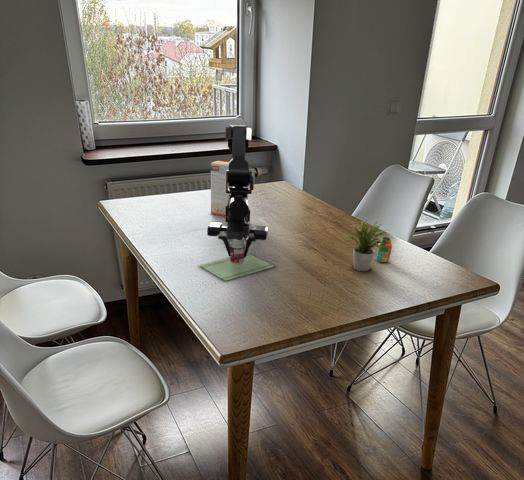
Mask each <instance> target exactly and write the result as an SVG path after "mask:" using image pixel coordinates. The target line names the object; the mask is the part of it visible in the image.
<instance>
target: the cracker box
mask: <svg viewBox="0 0 524 480" xmlns="http://www.w3.org/2000/svg"><path fill="white" fill-rule="evenodd" d="M229 162H230V161H224V160H216V161H212V162H210V213H211V214H212V215H216V216H220V217H225V214H226V206H227V205H228V198H229V193H226V170H229ZM229 187H230V186H228V189H229ZM244 188H247V187H244Z"/></svg>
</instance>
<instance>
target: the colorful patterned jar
mask: <svg viewBox="0 0 524 480" xmlns="http://www.w3.org/2000/svg"><path fill="white" fill-rule="evenodd" d="M382 239H385V240H382ZM380 240H382V241H381V242H383V243H378V244H377V245H379V247H380V249H379V248H378V247H377V250H376V260H377V261H378V262H379V263H387V262H389V260H390V258H391V255H392V249H393V243H392V238H391V237H389V236H382V237H381V239H380Z"/></svg>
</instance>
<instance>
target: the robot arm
mask: <svg viewBox="0 0 524 480" xmlns="http://www.w3.org/2000/svg"><path fill="white" fill-rule="evenodd" d="M225 141H227V147H228V149H229V151H230V153H231V160H230V161H228V162H229V170H226V193H229V198H228V205H227V206H226V214H225V219H224V220H225V223H227V224H226V226H223V222H216V221H215V222H214V221H211V222H210V223H209V225H208V226H207V228H206V229H207V230H206V235H207V236H208V237H217V239H218V240H221V241H222V242H223V244H224V247H225V249H226V253H227V255H228V257H230V244H231V239H236V240H242V239H243V238H244V239H245V254H244V257H245V258H246V255H247V253H248V252H249V249H250V247H251V246H252V243H253V242H254V243H255V242H256V241H258V240H259V241H266V240H267V238H268V235H269V228H268V227H267V225H258V224H257V225H255V227H254V228H251V226H250V222H251V209H250V207H249V195H252V194H253V193H252V191H254V185H255V184H254V174H253V172H252V170H250V163H249V162H248V161H247V159H246V152H247V150H248V149H249V146H250V142H251V141H252V128H251V127H248V125H247V124H246V125H244V124H229V126H227V127H225ZM228 186H230V187H229V189H228ZM244 187H246V188H244Z"/></svg>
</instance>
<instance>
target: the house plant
mask: <svg viewBox="0 0 524 480" xmlns="http://www.w3.org/2000/svg"><path fill="white" fill-rule="evenodd" d="M377 224H378V221H376V222H375V223H374V224H373V225H372V227H371V228H370V229H369V227H368V220H367V219H365V222H364V220H363V219H361V224H360V226H358V227H360V230H358V228H357V227H356V226H355V225H354V224H352V227H353V228H354V230H353V229H352V230H353V232H354V233H355V234H356V237H357V238H358V240H357V238H355V237H354V236H353V235H348V236H347V238H348V239H351V240H352V241H354V242H355V246H354V248H353V249H352V251H353V269H354V270H356V271H359V272H368V271H369V270H370V268H371V265H372V262H373V260H374V256H375V252H376V250H374V249H373V248H374V247H377V249H378V248H379V249H380V247H379V245H378V244H379V243H383V242H381V241H382V240H385V239H382V240H381V239H380V238H378V237H379V236H382V235H383V236H384V235H386V234H388V232H387V231H388V229H384V230H381V231H378V230H379V228H380V227H381V226H382V225H383V223H380V224H378V225H377Z"/></svg>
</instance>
